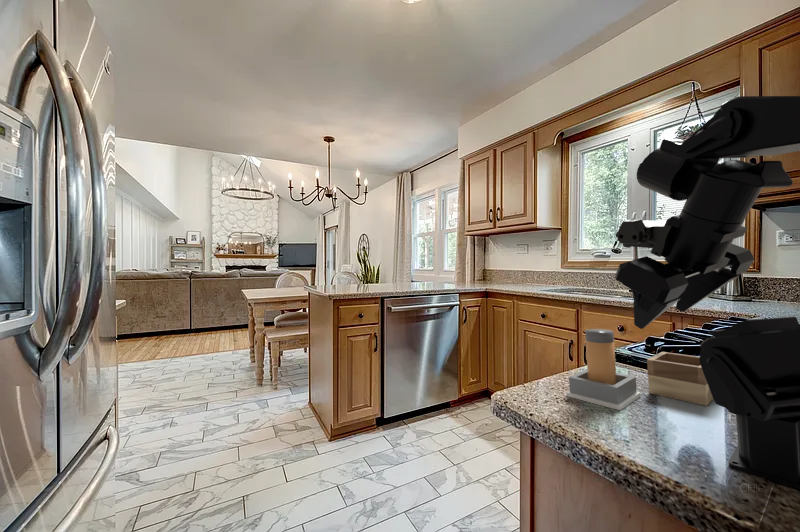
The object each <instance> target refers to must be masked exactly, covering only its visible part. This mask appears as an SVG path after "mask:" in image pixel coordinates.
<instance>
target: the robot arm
mask: <svg viewBox="0 0 800 532" xmlns="http://www.w3.org/2000/svg"><path fill="white" fill-rule="evenodd" d="M795 152H800V95H789V96H788V95H774V96H773V95H757V96H755V95H752V96H751V95H747V96H746V95H745V96H742V95H741V96H736V97H733V98H730V99H728V100H726V101H725V102H723V103H721V105H720V108H719V109H718V110H717V111H716V112H715V113H714V114H713V116H712V117H711V118H710V119H708V120H707V121H706V122H704V124H703V125H701V127H699V128H698V129H697V130H695V132H694V133H692V134H691V135H690V136H689V137H688V138H687V139H685V140H683V139H680V138H664V139H663V140H662V141H661V143H660V146H659V147H658V148H657V149H654V150H653V151H651V152H650V153H649V154H647V156H646V157H645V158H644V159H643V160H642V162H641V163H639V165H638V167H637V171H636V180H637V182H638V184H639V185H640V186H642V187H643V188H645V189H646V190H647V189H648V190H650V191H653V192H655V193H657V194H660V195H662V196H664V197H667V198H669V199H672V200H674V201H677V202H681V201H685V202H684V205H683V207H682V209H681V211H680V214H678V215H674V216H671V217H669V218H667V219H666V220H643V219H635V220H633V219H631V218H630V219H627V220H623V221H622V222H621V224H620V225H619V226H618V230H617V232H615V237H616V238H617V241H618V243H619V244H622V248H627V249H628V248H633V247H635V248H644V249H651V250H650V254H652V255H654V256H657V257H659V258H660V257H662V258H664V261H665V262H667V263H662V262H660V261H658V260H656V259H654V258H652V257H650V256H647V255H645V256H641V257H638V258H636V259H632V260H629V261H626V262H622V263H619V265H618V268H617V270H616V272H615V275H614V278H615V280H616V281H617V282H619V283H621V284H622V285H623V286H625V287H626V288H628V289H630V291H631V292H632V297H633V324H634V326H635V327H637V328H638V329H641V330H642V329H645V328H646V327H647V326H648V325H650V324H651V323H652V322H654V321H656V319H657V318H659V317H660V316H661V315H662V314H663V313H665V312H667V310H669V309H670V308H671V307H672V306H674V304H676V306H675V308H676V310H678V311H680V312H682V313H683V312H686V311H688V310H690V308H693V307H694V306H695V305H697V304H698V303H700V302H701V301H703V300H704V299H706V298H707V297H709V296H711V295H712V294H714V293H715V292H717V291H718V290H720V289H721V288H722V287H724V286H726V285H727V284H729V283H731V282H732V281H734V280H735V279H738V278H739V277H741V274H744V273H746V272H748V271H749V269H750V267H751V266H752V264H753V263H754V261H755V257H754V255H753V254H752V251H751V250H750V249H748V248H745V247H743V246H740V245H736V244H735V243H733V241H734V240H735V239H738V238H741V237H744V236H745V234H746V232H747V230H748V228H749V227H747V226H743V223H744V222H745V220H746V218H748V214H749V212H750V211H751V209H752V208H753V206H754V204H755V202H756V200H757V199H758V197H759V195H760V193H761V192H762V189H767V188H789V187H791V186H792V185H793V183H794V180H793V179H792V178H791V176H790V175H789V174H788V172H786V170H785V168H784V166H783V162H782V161H781V160H762V161H759V162H758V163H756V164H755V163H751V162H747V161H742V160H739V159H746V158H747V159H748V158H750V157H753V156H755V157H757V156H760V157H761V156H779V155H784V154H790V153H795ZM720 159H731V160H727V161H723V162H721V163H719V161H720ZM730 266H732V267H731V269H730ZM708 333H709V334H710V335H711V336H712V337H708V338H706V339H705V340H703V341H702V342H701V343H700V345H699V347H700V351H699V357H700V358H699V359H700V365H701V368H702V370H703V373H704V376H705V378H706V381H707V383H708V386H709V389H710V391H711V394H712V397H713V401H714V404H715V405H717V406H719V407H720V406H721V407H723V408H725V409H726V410H727V411H728V413H731V414H734V415H736V417H735V418H736V433H737V435H736V436H737V446H736V447H735V449H734V451H733V452H732V454H731V456H730V458H729V459H728V466H729V467H730V468H732V469H734V470H737V471H741V472H744V473H747V474H749V475H753V476H755V477H759V478H763V479H766V480H769V481H772V482H775V483H778V484H781V485H785V486H788V487H791V488H793V489H798V490H800V323H799V321H798V318H797V317H796V316H786V317H785V316H784V317H783V316H782V317H770V318H758V319H757V318H756V319H744V320H742V321H739V322H737V323H735V324H733V325H731V326H729V327H728V328H726V329H716V330H714V329H712V330H709V332H708ZM768 389H769V390H771V389H774V390H775V392H774V391H773V392H765V390H768Z"/></svg>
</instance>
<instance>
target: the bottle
mask: <svg viewBox="0 0 800 532" xmlns="http://www.w3.org/2000/svg"><path fill="white" fill-rule="evenodd" d="M584 334H585V348H586V349H585V350H586V353H585V354H586V365H587V366H586V367H587V368H586V369H587V370H588V380H592V381H596V382H601V383H605V384H610V385H615V384H616V373H617V370H616V354H615V352H616V351H615V336H614V331H613V330H610V329H605V328H592V329H591V328H588V329H586V330H585V331H584Z"/></svg>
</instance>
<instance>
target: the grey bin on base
mask: <svg viewBox="0 0 800 532" xmlns="http://www.w3.org/2000/svg"><path fill="white" fill-rule="evenodd" d="M568 383H569V385H568V386H569V387H568V388H569V390H568V391H566V392H565V394H566V395H565V396H566V397H569V398H572V399H577V400H581V401H585V402H588V403H592V404H595V405H599V406H602V407H605V408H606V407H607V408H609V409H614V410H617V411H622V410H624V409H625V408H626V407H627V406H629V405H630V404H632V403H633V402H634V401H636V400H637V399H639V398H641V396H642V395H641V392H640V391H637V378H636V376H633V375H632V376H631V375H627V374H622V373H617V372H616V384H615V385H610V384H605V383H601V382H596V381H592V380H588V370H587V368H586V369H584V370H582V371H580V372H578V373H575V374H573V375H569V377H568Z"/></svg>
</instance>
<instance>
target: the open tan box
mask: <svg viewBox="0 0 800 532" xmlns="http://www.w3.org/2000/svg"><path fill="white" fill-rule="evenodd" d="M699 358H700V355H699V356H697V355H689V354H682V353H673V352H667V351H661V352H659V353H656V354H655V355H653V356H651V357H649V358H647V359H646V363H647V366H646V367H647V378H648V382H647V383H648V393H649V394H651V395H655V396H660V397H661V396H662V397H666V398H669V399H675V400H678V401H683V402H688V403H692V404H698V405H701V406H702V405H703V406H709V404H710V403H711V402H712V401H714V399H713V397H712V394H711V391H710V389H709V386H708V383H707V381H706V378H705V376H704V373H703V370H702V368H701V365H700V359H699Z"/></svg>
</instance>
